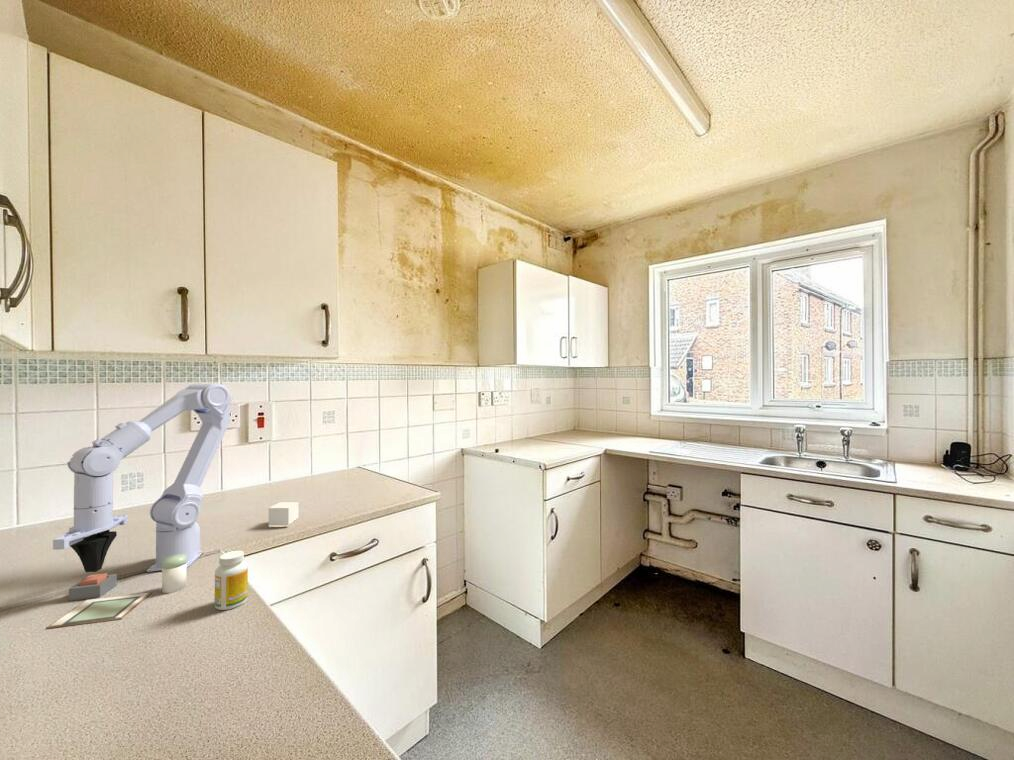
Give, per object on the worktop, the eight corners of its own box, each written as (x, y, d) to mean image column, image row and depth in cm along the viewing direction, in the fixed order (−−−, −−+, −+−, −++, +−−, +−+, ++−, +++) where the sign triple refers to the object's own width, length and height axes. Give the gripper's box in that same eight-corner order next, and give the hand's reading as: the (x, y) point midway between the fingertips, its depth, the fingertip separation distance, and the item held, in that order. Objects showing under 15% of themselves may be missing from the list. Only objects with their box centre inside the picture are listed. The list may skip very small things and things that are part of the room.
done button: (90, 580, 85) (90, 575, 85) (106, 579, 86) (106, 573, 86) (80, 587, 82) (80, 581, 82) (97, 585, 83) (97, 579, 83)
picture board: (86, 600, 81) (86, 599, 81) (151, 593, 84) (151, 591, 84) (46, 628, 72) (46, 627, 72) (121, 619, 75) (121, 617, 75)
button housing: (87, 588, 86) (87, 577, 86) (116, 585, 87) (116, 573, 87) (68, 600, 81) (68, 588, 81) (100, 597, 82) (100, 585, 82)
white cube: (288, 528, 122) (288, 508, 122) (268, 528, 122) (268, 508, 122) (298, 521, 128) (298, 502, 128) (279, 521, 128) (279, 502, 128)
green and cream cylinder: (168, 585, 87) (168, 554, 87) (190, 582, 88) (190, 552, 88) (157, 594, 83) (157, 562, 83) (180, 591, 84) (180, 560, 84)
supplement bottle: (208, 611, 77) (208, 561, 77) (225, 597, 82) (224, 549, 82) (238, 610, 77) (238, 559, 77) (253, 595, 83) (253, 548, 83)
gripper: (104, 495, 91) (103, 556, 91) (35, 517, 77) (34, 589, 76) (138, 495, 92) (137, 555, 92) (76, 515, 77) (75, 587, 77)
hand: (93, 570), depth 84 cm, fingers closed
